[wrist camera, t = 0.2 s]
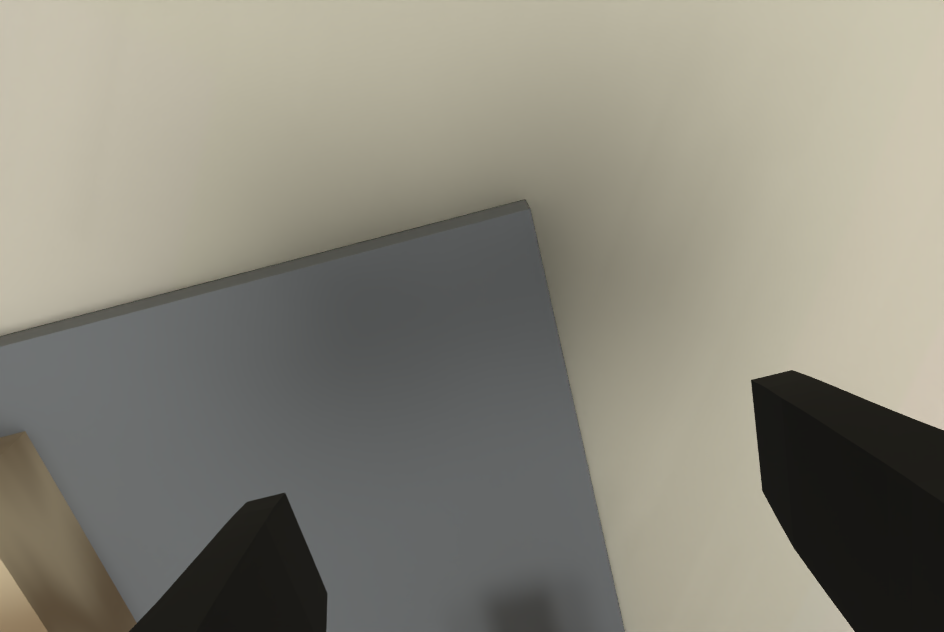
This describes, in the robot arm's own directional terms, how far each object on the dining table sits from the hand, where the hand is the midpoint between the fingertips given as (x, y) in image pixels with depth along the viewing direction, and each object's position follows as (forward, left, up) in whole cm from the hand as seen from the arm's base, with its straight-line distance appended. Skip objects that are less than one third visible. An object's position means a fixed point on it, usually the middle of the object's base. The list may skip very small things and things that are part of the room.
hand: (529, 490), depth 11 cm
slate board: (-9, +9, -10) cm, 16 cm away
